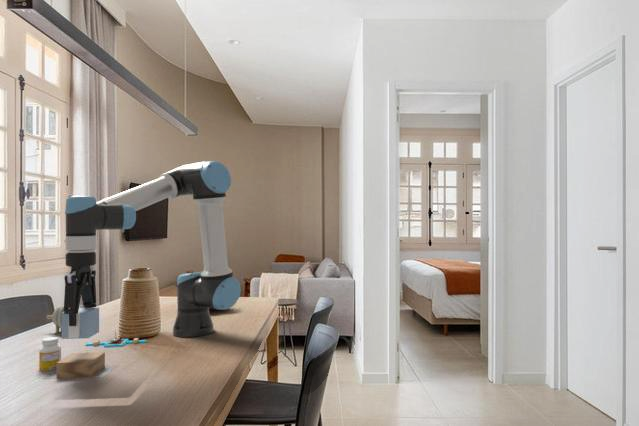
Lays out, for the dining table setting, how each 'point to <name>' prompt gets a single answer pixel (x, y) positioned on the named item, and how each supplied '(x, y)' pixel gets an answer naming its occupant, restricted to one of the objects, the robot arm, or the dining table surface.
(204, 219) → the robot arm
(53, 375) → the board
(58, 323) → the toy sheep
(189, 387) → the dining table surface
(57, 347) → the supplement bottle
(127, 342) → the gear mechanism
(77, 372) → the base brick
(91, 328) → the blue cube
